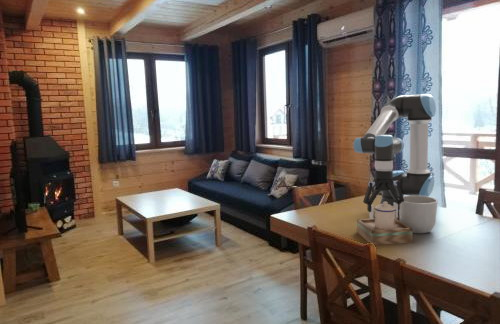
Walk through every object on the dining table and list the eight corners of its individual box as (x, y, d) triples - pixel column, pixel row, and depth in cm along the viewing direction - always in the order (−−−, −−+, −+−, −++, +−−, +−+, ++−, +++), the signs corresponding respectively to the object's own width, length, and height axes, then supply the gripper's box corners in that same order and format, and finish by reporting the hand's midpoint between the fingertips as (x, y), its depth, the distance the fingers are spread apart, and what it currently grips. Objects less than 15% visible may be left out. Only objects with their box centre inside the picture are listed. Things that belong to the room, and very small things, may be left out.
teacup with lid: (399, 229, 165) (399, 203, 164) (378, 230, 165) (379, 204, 163) (387, 222, 177) (388, 197, 175) (368, 222, 177) (369, 198, 175)
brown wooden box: (393, 229, 181) (393, 217, 180) (412, 242, 163) (412, 228, 162) (356, 232, 180) (356, 219, 179) (371, 244, 162) (371, 230, 161)
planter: (442, 229, 179) (443, 198, 177) (429, 238, 167) (429, 205, 165) (406, 223, 190) (406, 194, 189) (391, 231, 179) (392, 200, 177)
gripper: (404, 167, 172) (404, 214, 175) (355, 169, 171) (355, 217, 173) (413, 169, 165) (412, 218, 167) (361, 172, 163) (361, 221, 166)
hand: (383, 218), depth 170 cm, fingers open, 11 cm apart
